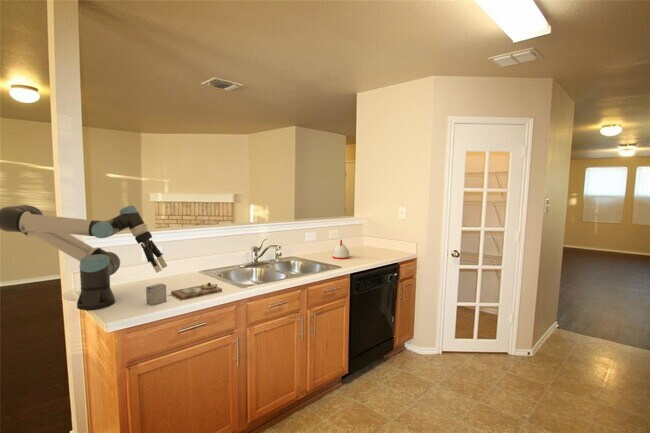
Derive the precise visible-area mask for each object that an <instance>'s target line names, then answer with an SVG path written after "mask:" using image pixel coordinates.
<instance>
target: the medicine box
mask: <svg viewBox="0 0 650 433" xmlns="http://www.w3.org/2000/svg"><path fill="white" fill-rule="evenodd" d="M145 294H146V295H145V296H146V297H145V298H146V305H148V306H150V307H151V306H156V305H159V304H162V303H166V302H167V285H166V284H164V283H155V284H153V285H152V284H151V285H149V286H145Z"/></svg>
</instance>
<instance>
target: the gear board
mask: <svg viewBox="0 0 650 433" xmlns="http://www.w3.org/2000/svg"><path fill="white" fill-rule="evenodd" d="M222 292H223V288H222V287H219V286H218V284H217V283H215V284H214V283H211V282H207V284H200V285H197V286H195V285H194V286H192V287H186V288H181V289H175V290H171V291H170V294H171V295H172V296H174V297H176V298H178V299H180V301H183V300H189V299H193V298H198V297H202V296H207V295H211V294H216V293H222Z"/></svg>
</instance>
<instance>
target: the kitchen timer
mask: <svg viewBox="0 0 650 433" xmlns="http://www.w3.org/2000/svg"><path fill="white" fill-rule="evenodd" d="M332 259H334V260H339V261H340V260H341V261H342V260H343V261H344V260H348V259H350V251H349V249H348V248H347V246H346V245H345V244H343V239H340V242H339V243H338V244H337V245H336V246H335V248H333V251H332Z"/></svg>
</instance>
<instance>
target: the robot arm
mask: <svg viewBox="0 0 650 433" xmlns="http://www.w3.org/2000/svg"><path fill="white" fill-rule="evenodd" d="M147 226H148V225H147V224H146V223H145V222H144V220H143V218H142V216H141V214H140V213H139V211H138V210H137V208H136V206H135V205H132V204H131V205H128V206H125V207H123V208H121V209H120V210H119V214H118V215H117V216H114V217H113V218H111V219H107V220H94V219H83V218H74V217H65V216H64V217H63V216H52V215H46V214H45V215H44V214H43V212H42V211H41V210H40V209H39V208H38V207H36V206H35V205H27V204H21V205H11V206H6V207H2V208H0V230H1V231H4V232H8V233H21V234H23V235H25V236H27V237H36V238H38V239H40V240H41V241H43V242H45V243H47V244H48V245H50V246H52V247H54V248H55V249H57V250H59V251H61V252H63V253H64V254H66V255H68V256H69V257H71V258H73V259H74V260H77V261H79V274H80V275H79V276H80V293H79V296H78V300H77V302H76V308H77V309H78V310H80V311H93V310H94V311H95V310H100V309H104V308H108V307H111V306H113V305H114V304H115V303H116V298H115V295H114V293H113V291H112V288H111V278H110V277H111V276H112V275H114V274H115V273H116V272H117V271H118V270H119V268H120V266H121V260H120V257H119V256H118V255H117V253H114V252H112V251H106V250H104V249H102V248H101V247H93V246H91V245H89V244H88V243H86V242H84V241H82V240H81V239H79V238H78V237H76V236H87V237H88V236H89V237H95V238H98V239H107V238H110V237H112V236H114V235H115V234H118V233H120V232H122V231H124V230H126V229H129V231H130V232H131V234H132V236H133V237H134V239H135V241H136V243H137V244H140V246H141V249H143V250H142V251H143V253H144V255H145V258H146V261H147V263H150V264H151V266H152V267H153V270H154V271H155V273H159V272H161V271H162V270H163V269H165V268H166V267H168V264H167V263H166V260H165V259H164V258H163V252H161V250H160V249H159V248H158V247H157V246H156V244H155V243H154V241H153V240H152V238H153V235H152V234H151V232H150V230H149V228H148V227H147ZM74 235H76V236H74ZM150 239H151V240H150ZM155 257H156V259H155Z"/></svg>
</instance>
